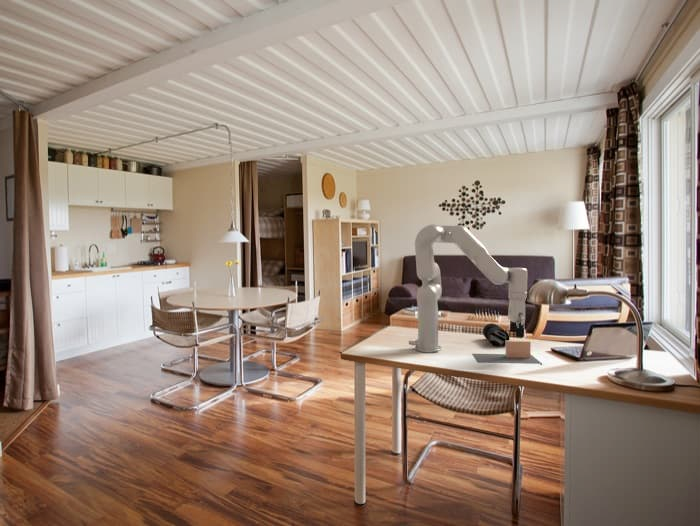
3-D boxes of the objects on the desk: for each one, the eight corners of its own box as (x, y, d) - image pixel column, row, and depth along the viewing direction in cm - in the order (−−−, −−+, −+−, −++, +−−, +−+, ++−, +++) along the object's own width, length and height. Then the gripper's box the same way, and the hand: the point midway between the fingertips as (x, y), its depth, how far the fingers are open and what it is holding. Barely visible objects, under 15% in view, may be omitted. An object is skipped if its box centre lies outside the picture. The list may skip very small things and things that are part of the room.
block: (506, 357, 180) (506, 341, 180) (505, 355, 182) (505, 340, 182) (530, 357, 179) (530, 341, 178) (528, 356, 181) (528, 340, 181)
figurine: (513, 335, 197) (502, 326, 217) (496, 326, 197) (486, 318, 217) (504, 352, 197) (493, 342, 217) (487, 343, 198) (478, 334, 218)
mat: (477, 363, 173) (477, 362, 173) (471, 354, 187) (471, 353, 187) (542, 364, 170) (542, 363, 170) (531, 355, 184) (531, 354, 184)
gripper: (503, 293, 188) (502, 329, 189) (514, 298, 171) (513, 338, 172) (520, 293, 187) (519, 330, 188) (533, 298, 170) (531, 339, 171)
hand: (516, 334), depth 180 cm, fingers open, 9 cm apart
